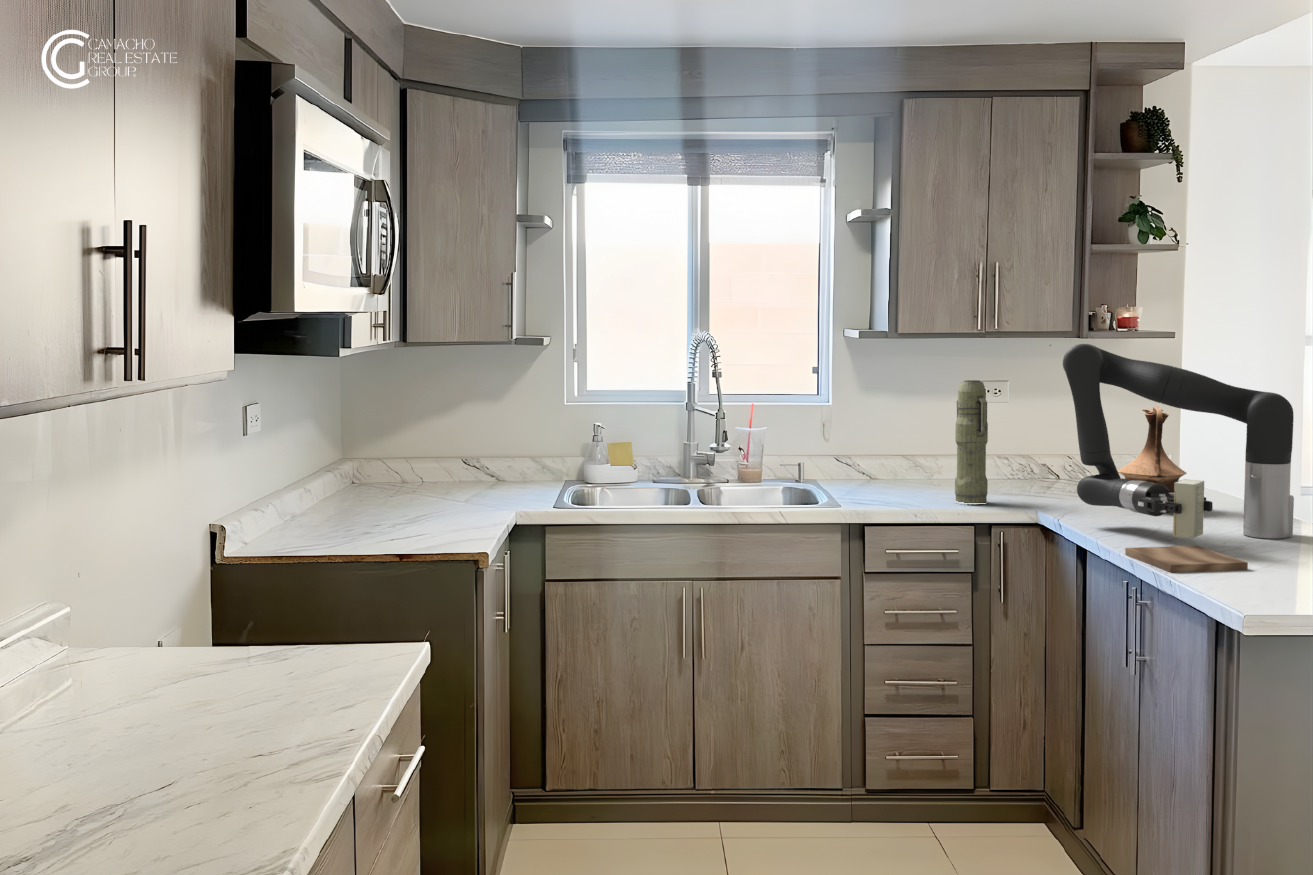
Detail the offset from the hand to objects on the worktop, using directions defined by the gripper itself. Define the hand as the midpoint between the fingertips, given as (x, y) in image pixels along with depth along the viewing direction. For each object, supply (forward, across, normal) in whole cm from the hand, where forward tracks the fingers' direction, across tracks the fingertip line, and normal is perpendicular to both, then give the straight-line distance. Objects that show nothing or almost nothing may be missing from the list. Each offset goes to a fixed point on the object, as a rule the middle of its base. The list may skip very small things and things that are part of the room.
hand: (1195, 507), depth 235 cm
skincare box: (-2, 0, +7) cm, 7 cm away
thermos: (-78, -9, +10) cm, 79 cm away
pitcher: (-50, +28, +10) cm, 58 cm away
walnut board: (+9, -10, +9) cm, 17 cm away
